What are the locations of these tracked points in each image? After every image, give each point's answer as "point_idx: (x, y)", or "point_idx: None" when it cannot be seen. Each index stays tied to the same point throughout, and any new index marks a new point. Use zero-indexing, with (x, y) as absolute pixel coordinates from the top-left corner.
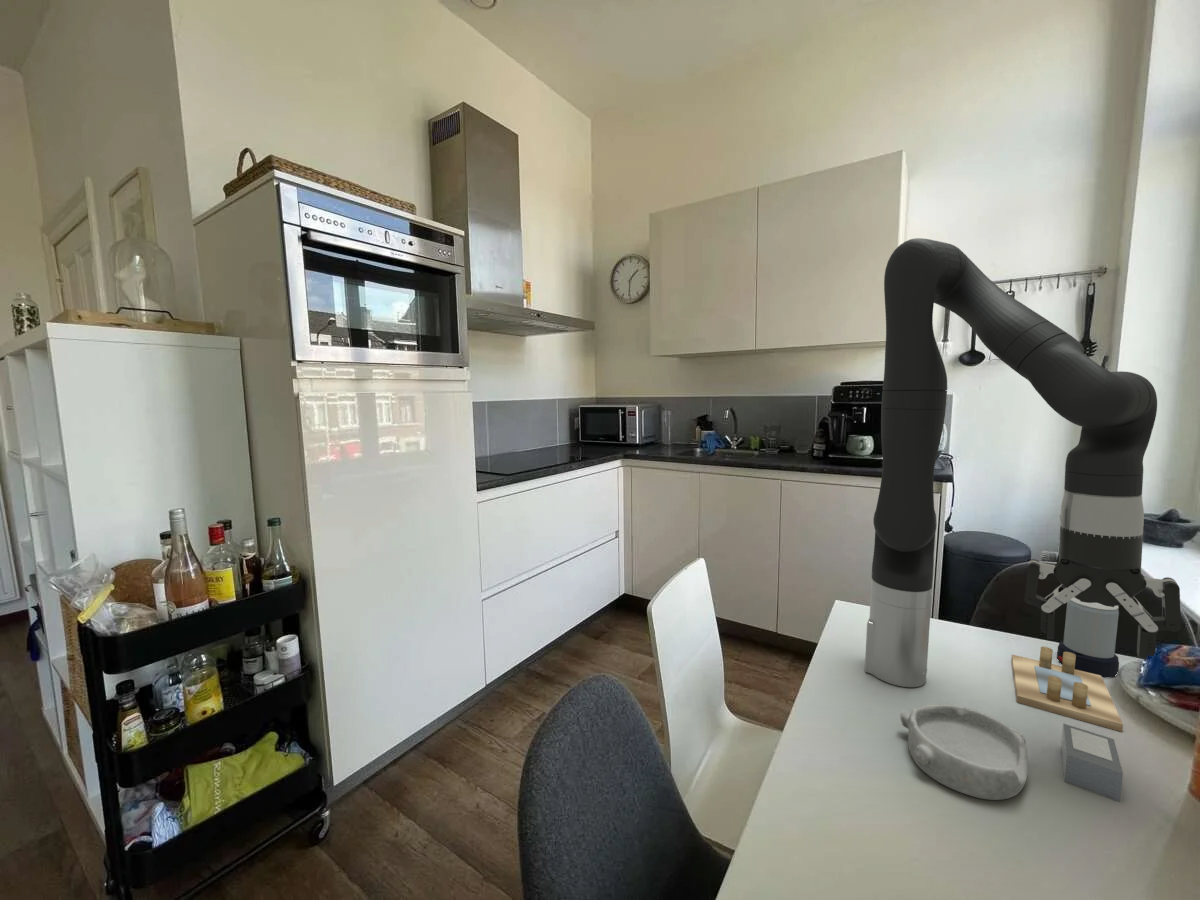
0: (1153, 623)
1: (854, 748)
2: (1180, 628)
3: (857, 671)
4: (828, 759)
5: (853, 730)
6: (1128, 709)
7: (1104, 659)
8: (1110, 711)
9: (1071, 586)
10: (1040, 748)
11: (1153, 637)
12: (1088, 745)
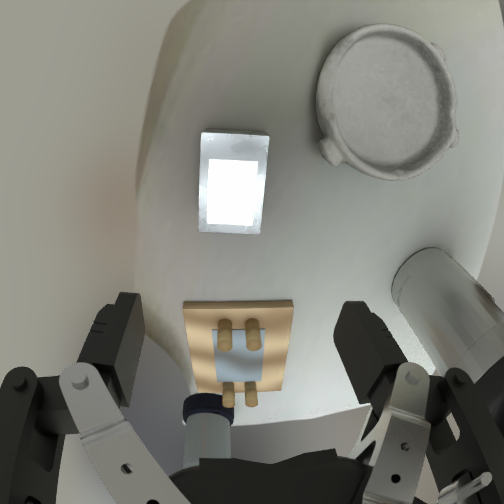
0: (67, 394)
1: (471, 80)
2: (6, 375)
3: (458, 255)
4: (484, 53)
5: (474, 115)
6: (176, 350)
7: (194, 412)
8: (193, 330)
9: (405, 500)
10: (282, 198)
11: (87, 351)
12: (235, 184)
